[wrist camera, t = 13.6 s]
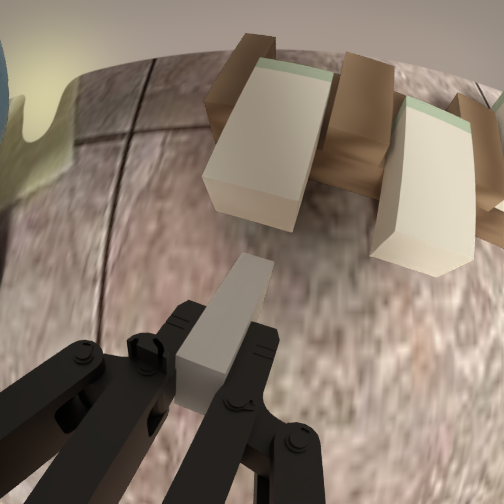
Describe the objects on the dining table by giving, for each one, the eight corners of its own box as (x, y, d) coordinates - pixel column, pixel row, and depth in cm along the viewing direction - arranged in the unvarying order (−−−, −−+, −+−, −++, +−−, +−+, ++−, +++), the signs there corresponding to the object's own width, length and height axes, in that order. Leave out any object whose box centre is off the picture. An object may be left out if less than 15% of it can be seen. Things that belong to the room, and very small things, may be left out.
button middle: (369, 255, 17) (395, 231, 13) (388, 133, 19) (406, 95, 15) (436, 277, 16) (473, 259, 12) (444, 155, 18) (469, 122, 14)
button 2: (215, 211, 18) (201, 176, 14) (262, 99, 20) (260, 57, 16) (292, 232, 17) (298, 201, 13) (325, 114, 19) (333, 72, 16)
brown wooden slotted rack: (218, 156, 24) (203, 100, 18) (251, 86, 26) (246, 31, 20) (521, 257, 20) (568, 233, 14) (517, 180, 22) (553, 148, 16)
